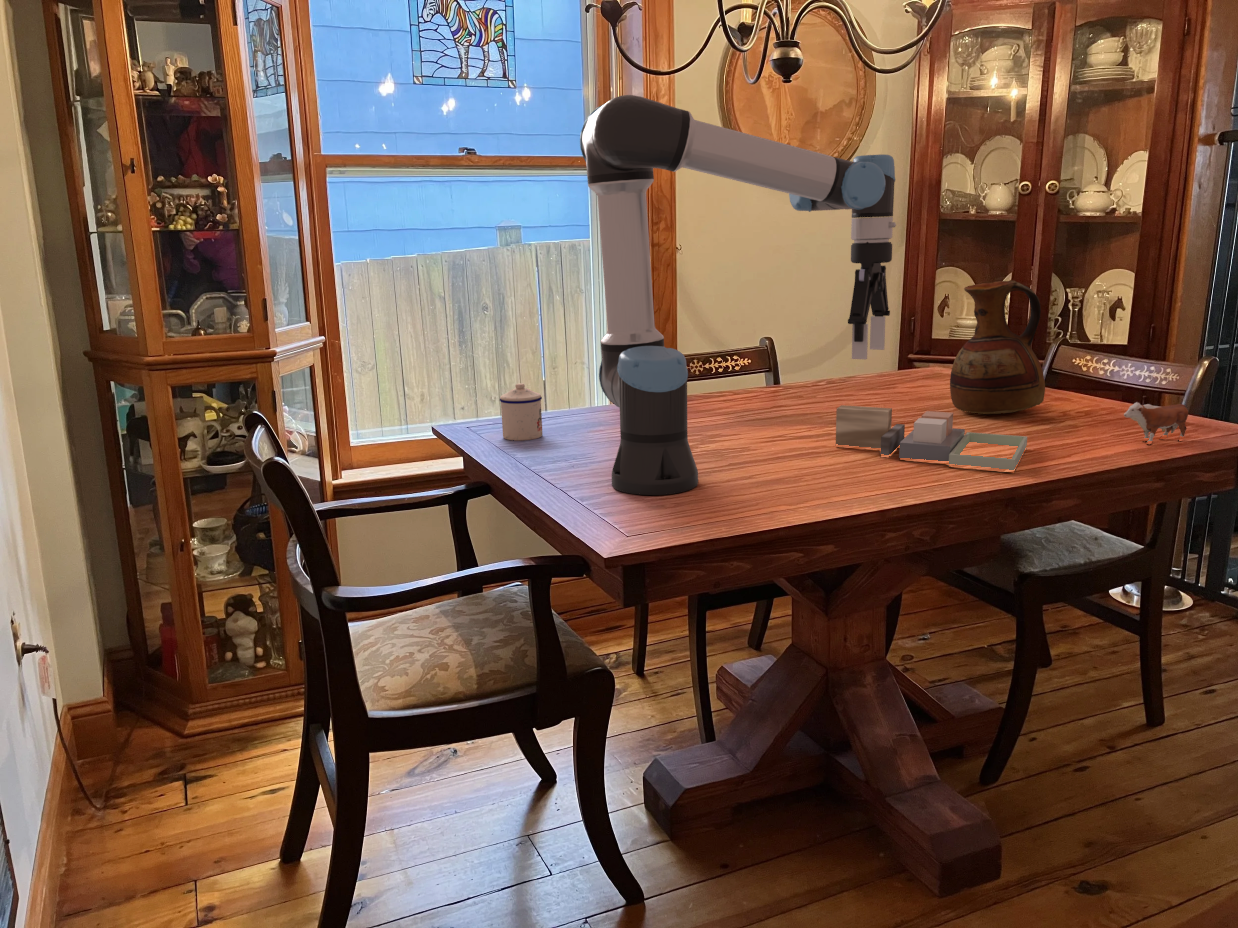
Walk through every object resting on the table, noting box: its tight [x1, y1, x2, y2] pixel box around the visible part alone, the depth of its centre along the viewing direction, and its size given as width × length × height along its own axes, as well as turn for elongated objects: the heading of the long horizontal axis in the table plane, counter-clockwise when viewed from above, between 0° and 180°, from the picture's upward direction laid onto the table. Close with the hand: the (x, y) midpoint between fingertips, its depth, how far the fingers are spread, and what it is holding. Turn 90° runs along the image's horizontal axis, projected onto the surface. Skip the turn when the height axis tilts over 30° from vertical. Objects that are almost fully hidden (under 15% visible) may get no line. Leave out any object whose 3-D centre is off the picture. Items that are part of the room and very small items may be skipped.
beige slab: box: [835, 405, 906, 455], centre depth 187 cm, size 13×12×8 cm
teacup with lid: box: [499, 382, 543, 442], centre depth 207 cm, size 12×9×12 cm
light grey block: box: [913, 417, 947, 443], centre depth 178 cm, size 5×5×4 cm
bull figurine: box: [1123, 401, 1189, 442], centre depth 185 cm, size 4×13×8 cm, turn 102°
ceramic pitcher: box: [949, 280, 1046, 415], centre depth 214 cm, size 20×20×30 cm
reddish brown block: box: [921, 410, 954, 436], centre depth 184 cm, size 5×5×4 cm
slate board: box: [898, 427, 966, 461], centre depth 181 cm, size 16×9×4 cm, turn 152°
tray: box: [949, 431, 1028, 470], centre depth 177 cm, size 20×11×2 cm, turn 152°
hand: (868, 354), depth 183 cm, fingers open, 13 cm apart
